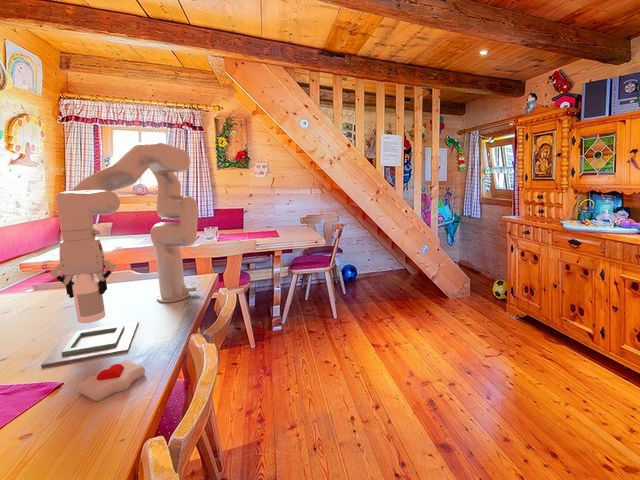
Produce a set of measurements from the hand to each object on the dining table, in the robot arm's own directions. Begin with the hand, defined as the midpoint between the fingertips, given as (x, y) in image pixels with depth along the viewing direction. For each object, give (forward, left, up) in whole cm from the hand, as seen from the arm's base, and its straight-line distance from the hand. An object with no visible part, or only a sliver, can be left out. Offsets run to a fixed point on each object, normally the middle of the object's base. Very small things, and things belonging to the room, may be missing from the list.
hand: (88, 294), depth 94 cm
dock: (0, 0, -16) cm, 16 cm away
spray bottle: (0, 0, -8) cm, 8 cm away
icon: (-10, +26, -16) cm, 32 cm away
